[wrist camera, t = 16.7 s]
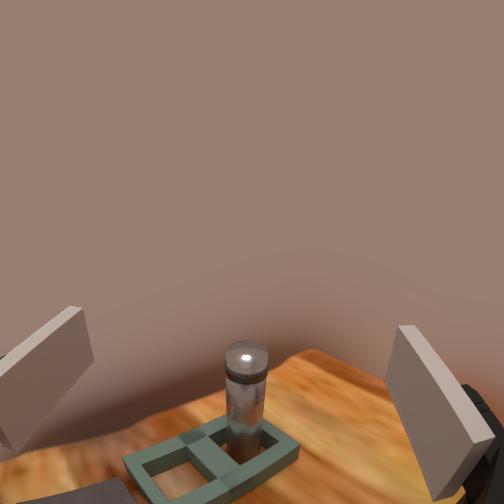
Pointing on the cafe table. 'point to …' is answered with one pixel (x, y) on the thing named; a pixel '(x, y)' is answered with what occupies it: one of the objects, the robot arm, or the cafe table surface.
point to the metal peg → (245, 398)
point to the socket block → (91, 495)
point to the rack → (211, 463)
